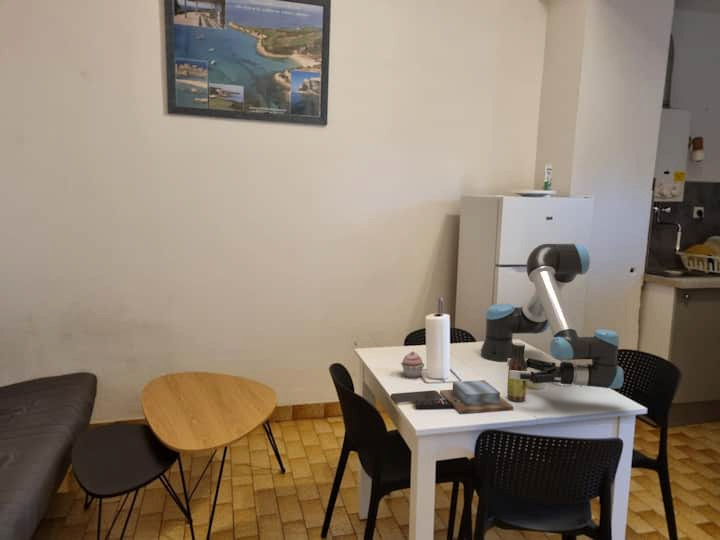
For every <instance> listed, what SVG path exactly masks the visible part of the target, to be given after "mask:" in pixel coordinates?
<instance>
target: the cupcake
mask: <svg viewBox="0 0 720 540" xmlns="http://www.w3.org/2000/svg"><path fill="white" fill-rule="evenodd" d="M402 359H403V360H402V362H400V364H401V367H402V370H403V376H405V377H406V376H407V377H406V378H409V379H411V378H412V379H416V378H419V376H421V375H422V372H423V369H424V367H425V364H424V362H423V359H422V358H421V356H420V354H419V353H418V352H415V351H414V350H412V351H410V352H409V353H408V354H405V355H404V358H402Z"/></svg>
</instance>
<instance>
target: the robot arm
mask: <svg viewBox="0 0 720 540" xmlns="http://www.w3.org/2000/svg"><path fill="white" fill-rule="evenodd" d="M590 259H591V258H590V255H589V251H588V249H587V248H586V246H584V244H578V243H542V244H541V245H538V246H537V247H535V248H534V249H533V250H532V251H531V252H530V254H529V255H528V257H527V260H526V261H527V262H526V273H527V276H528V279H529V281H530V282H531V283H533V285H534V288H535V291H534V293H533V294H532V296H531V298H530V299H528V300H526V301H524V302H523V303H522V305H521V307H515V305H513V304H512V303H495V304H492V305H490V306H489V307H488V308H487V310H486V315H485V318H486V319H485V321H486V323H485V338H484V341H483V343H482V345H481V349H480V356H481V358H484V359H486V360H489V361H493V362H495V361H496V362H507V363H506V366H507V367H509V362H510V360H511V358H512V357H513V343H514V342H513V336H514V335H515V334H517V335H518V334H519V335H520V334H521V335H522V334H529V335H530V334H534V335H536V334H537V335H538V334H543V333H544V332H546V331H547V330H548V329H550V331H551V333H552V336H553V337H552V338H551V340H550V343H549V348H550V349H549V350H550V354H551V356H552V357H553V358H554V359H555V360H559V361H560V360H569V361H566V362H561V361H560V364H559V366H557V364H556V362H551V361H549V362H548V361H544V360H540V359H535V358H530V357H528V358H527V359H525V361H526V364H527V369H533V370H537V371H536V372H534V371H527V372H525V371H513V370H510V377H509V378H510V379H519V380H526V381H530V382H532V384H535V385H536V384H546V383H552V382H560V383H561V384H569V385H570V386H572V385H574V386H579V387H580V388H582V387H583V386H584V387H594V388H595V387H596V388H601V389H620V388H622V386H623V384H624V378H625V377H624V370H623V368H622V367H621V366H618V365H617V361H618V353H619V352H618V351H619V345H620V344H619V343H620V339H619V334H618V332H616V331H614V330H610V329H609V330H608V329H596V330H595V331H594V334H593V336H579V335H578V333H577V331H576V328H575V325H574V323H573V320H572V318H571V317H572V316H570V313H569V310H568V308H567V304H566V302H565V300H564V297H563V296H562V293H561V292H562V290H563V289H564V287H565V286H566V285H567V284H568V283H571V282H573V281H574V280H575V278H576V277H577V276H578V275H582V276H583V275H585V274H586V273H588V271H589V269H590V266H591V265H590V263H591V262H590V261H591V260H590ZM571 360H572V361H573V360H576V361H577V360H591V363H584V362H574V363H573V362H570V361H571ZM571 384H572V385H571Z"/></svg>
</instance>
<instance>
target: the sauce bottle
mask: <svg viewBox="0 0 720 540" xmlns="http://www.w3.org/2000/svg"><path fill="white" fill-rule="evenodd" d="M525 349H526V344H525V343H522V342H513V357H512V358H511V360H510V362H509V366H508V370H507V371H508V372H507V390H506V391H507V392H506V393H507V398H508V399H509V400H510V401H512V402H523V401H525V399H526V394H527V393H526V392H527V380H519V379H510V378H509V377H510V370H513V371H525V372H528V368H527V364H526V361H525V360H526V359H525Z"/></svg>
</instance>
